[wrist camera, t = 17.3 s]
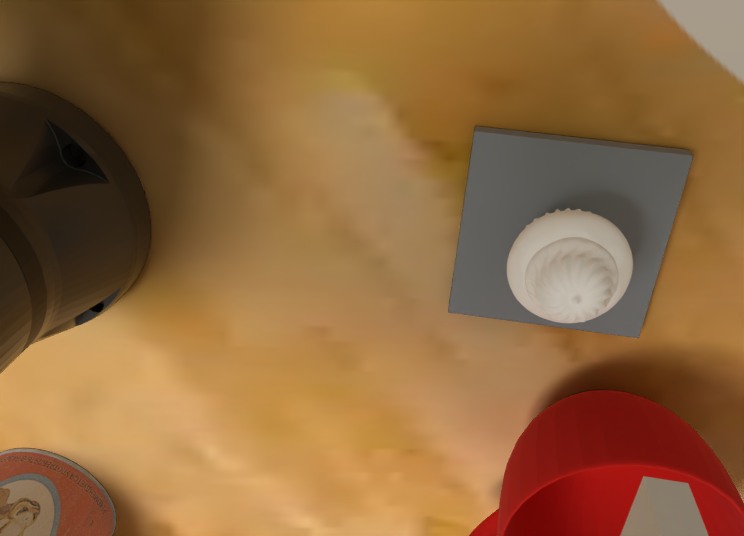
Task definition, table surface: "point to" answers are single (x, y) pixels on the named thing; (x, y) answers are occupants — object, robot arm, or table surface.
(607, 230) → the white fluted round figurine
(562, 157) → the coaster
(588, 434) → the ceramic cup
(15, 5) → the table surface
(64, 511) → the canned food
